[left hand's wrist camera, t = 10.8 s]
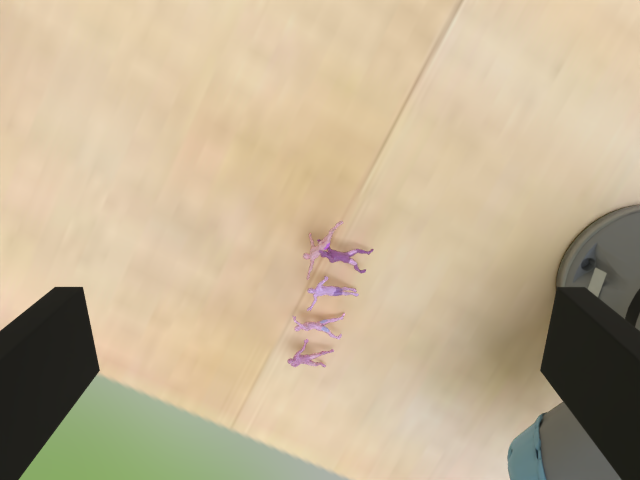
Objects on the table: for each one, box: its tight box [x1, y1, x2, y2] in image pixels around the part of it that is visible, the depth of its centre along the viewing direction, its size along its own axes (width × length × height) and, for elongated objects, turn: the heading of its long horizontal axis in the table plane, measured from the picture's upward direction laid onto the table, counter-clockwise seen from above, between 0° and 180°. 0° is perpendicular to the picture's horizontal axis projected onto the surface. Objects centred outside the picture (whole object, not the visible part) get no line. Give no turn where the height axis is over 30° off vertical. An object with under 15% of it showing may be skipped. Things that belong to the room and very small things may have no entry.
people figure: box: [288, 221, 373, 367], centre depth 46 cm, size 18×6×8 cm
